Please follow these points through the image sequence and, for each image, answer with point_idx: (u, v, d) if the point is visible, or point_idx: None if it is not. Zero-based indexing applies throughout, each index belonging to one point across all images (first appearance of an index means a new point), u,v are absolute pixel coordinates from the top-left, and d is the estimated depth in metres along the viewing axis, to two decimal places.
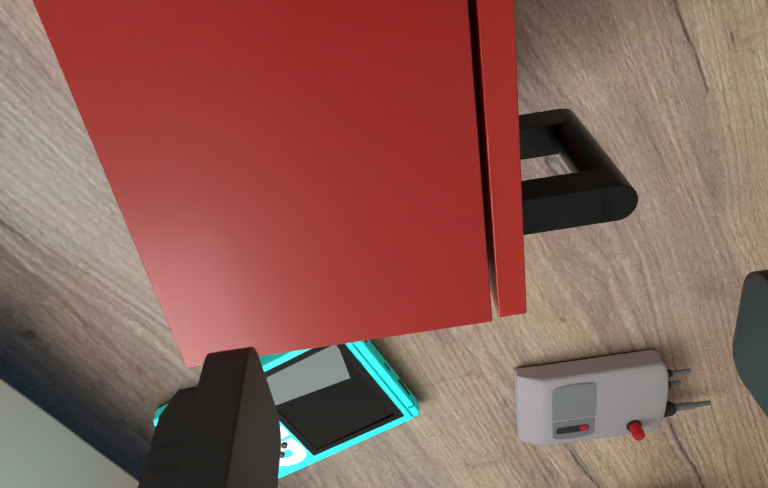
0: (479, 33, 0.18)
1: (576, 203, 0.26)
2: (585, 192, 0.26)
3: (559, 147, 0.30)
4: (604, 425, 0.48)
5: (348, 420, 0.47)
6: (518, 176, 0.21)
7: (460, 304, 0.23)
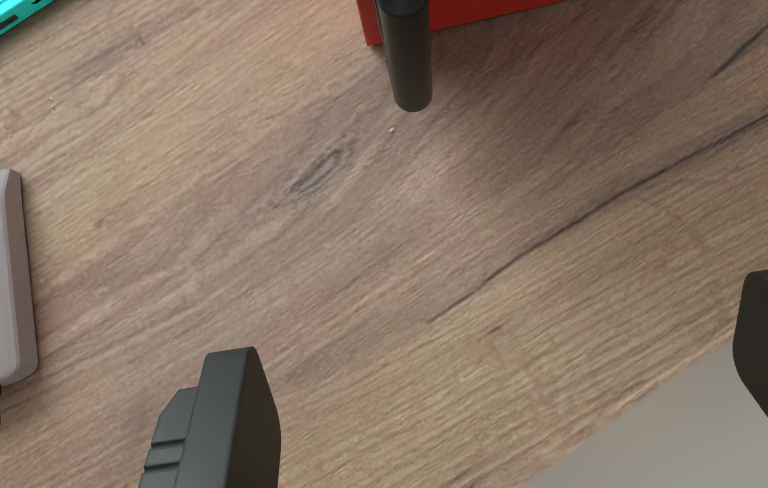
0: None
1: None
2: None
3: None
4: None
5: None
6: None
7: None
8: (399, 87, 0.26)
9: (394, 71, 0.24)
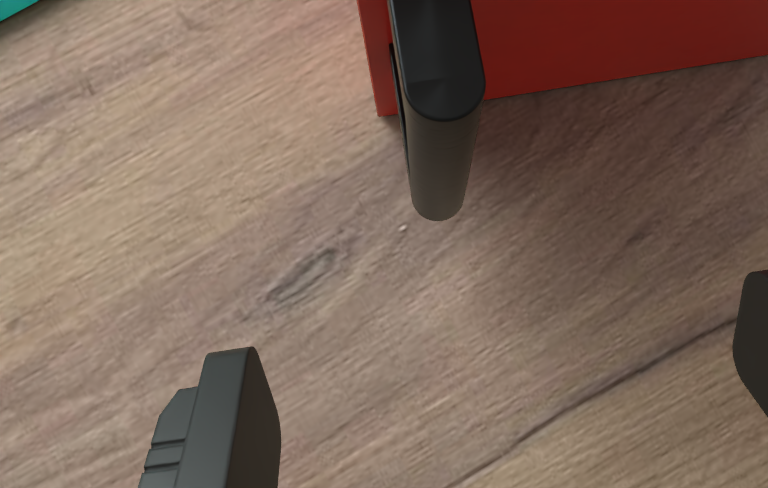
0: None
1: (446, 4, 0.13)
2: (468, 19, 0.13)
3: None
4: None
5: None
6: None
7: None
8: (421, 195, 0.18)
9: (417, 178, 0.17)
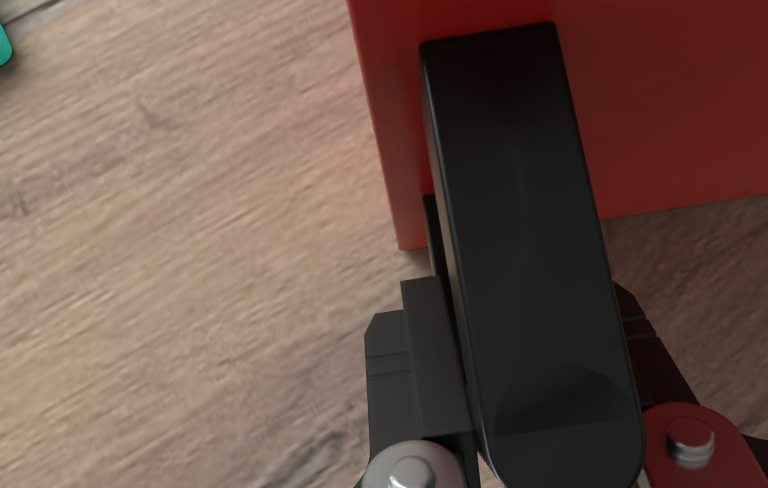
0: None
1: (564, 272, 0.07)
2: (606, 302, 0.07)
3: None
4: None
5: None
6: None
7: None
8: None
9: None
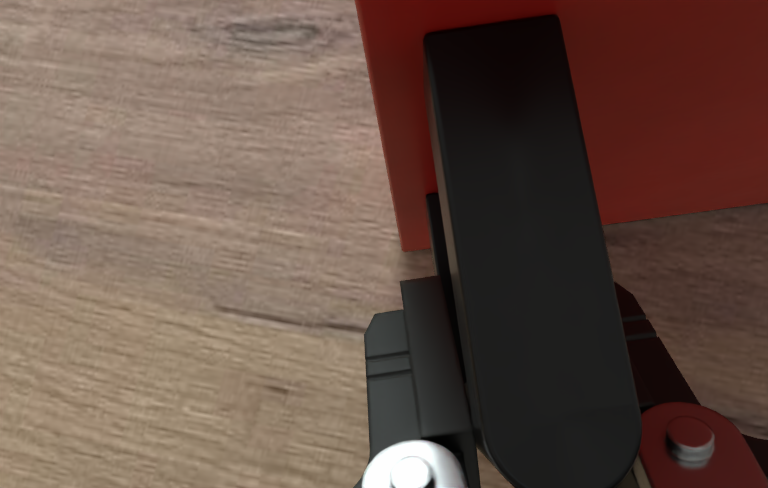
0: None
1: (563, 260, 0.07)
2: (604, 290, 0.07)
3: None
4: None
5: None
6: None
7: None
8: None
9: None
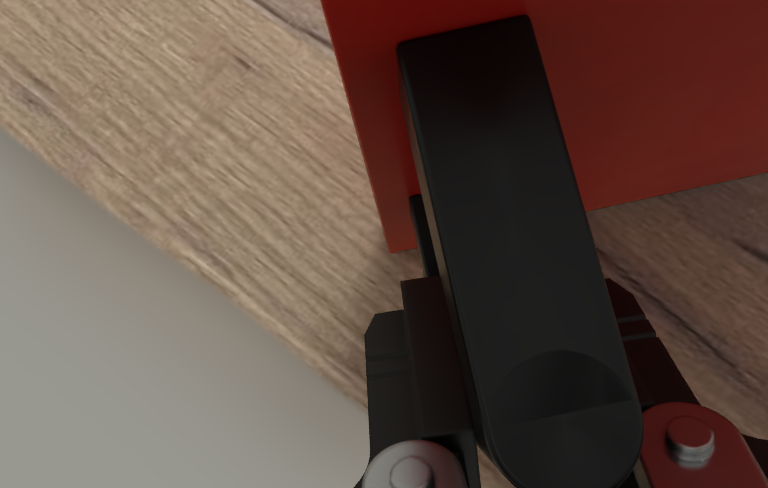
0: None
1: (553, 261, 0.07)
2: (596, 288, 0.07)
3: None
4: None
5: None
6: None
7: None
8: None
9: None
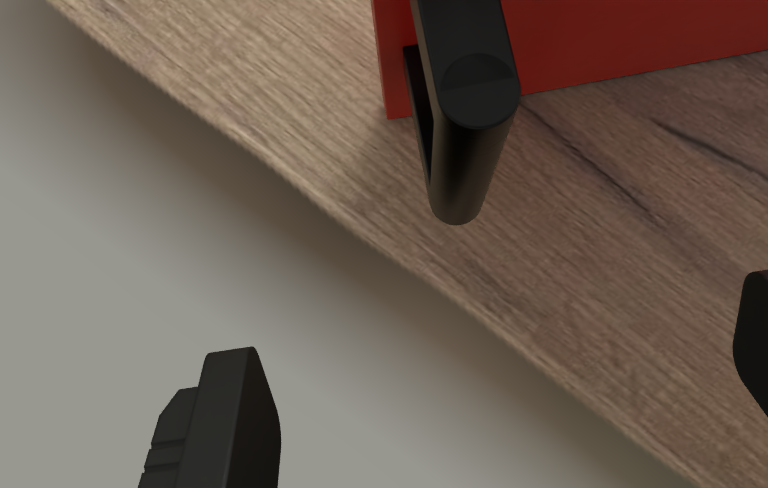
0: None
1: (477, 9, 0.13)
2: (500, 24, 0.13)
3: None
4: None
5: None
6: None
7: None
8: (443, 200, 0.18)
9: (441, 184, 0.17)
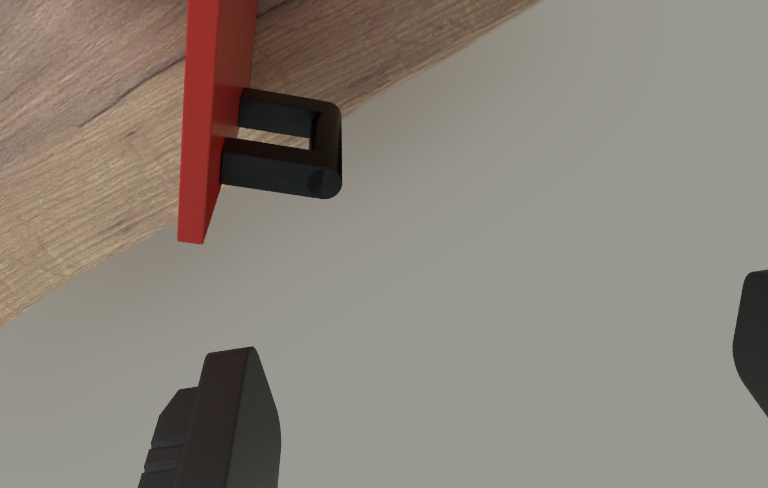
0: None
1: (288, 172, 0.29)
2: (297, 164, 0.29)
3: (310, 131, 0.34)
4: None
5: None
6: (209, 115, 0.24)
7: None
8: None
9: None
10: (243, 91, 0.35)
